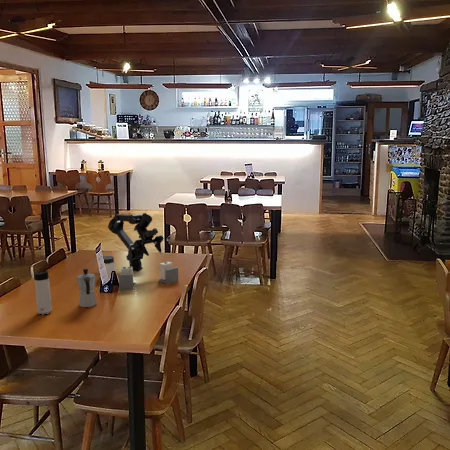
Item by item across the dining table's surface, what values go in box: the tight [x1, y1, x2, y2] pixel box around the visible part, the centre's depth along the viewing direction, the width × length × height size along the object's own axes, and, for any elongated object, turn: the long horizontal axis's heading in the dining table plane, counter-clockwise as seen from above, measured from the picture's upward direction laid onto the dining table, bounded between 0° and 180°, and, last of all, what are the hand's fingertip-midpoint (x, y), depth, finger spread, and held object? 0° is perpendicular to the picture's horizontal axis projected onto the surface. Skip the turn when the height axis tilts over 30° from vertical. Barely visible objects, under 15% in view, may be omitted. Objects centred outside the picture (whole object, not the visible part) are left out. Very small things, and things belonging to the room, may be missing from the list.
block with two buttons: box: [120, 266, 134, 275], centre depth 258 cm, size 4×6×9 cm
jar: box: [102, 255, 116, 277], centre depth 273 cm, size 9×8×12 cm
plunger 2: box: [159, 261, 173, 280], centre depth 266 cm, size 4×6×9 cm
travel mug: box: [33, 270, 53, 315], centre depth 219 cm, size 6×7×20 cm
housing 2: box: [158, 266, 179, 285], centre depth 265 cm, size 8×7×8 cm
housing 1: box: [118, 273, 136, 291], centre depth 256 cm, size 8×7×8 cm
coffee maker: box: [76, 268, 98, 308], centre depth 228 cm, size 15×9×18 cm, turn 21°
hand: (154, 254), depth 273 cm, fingers open, 8 cm apart
